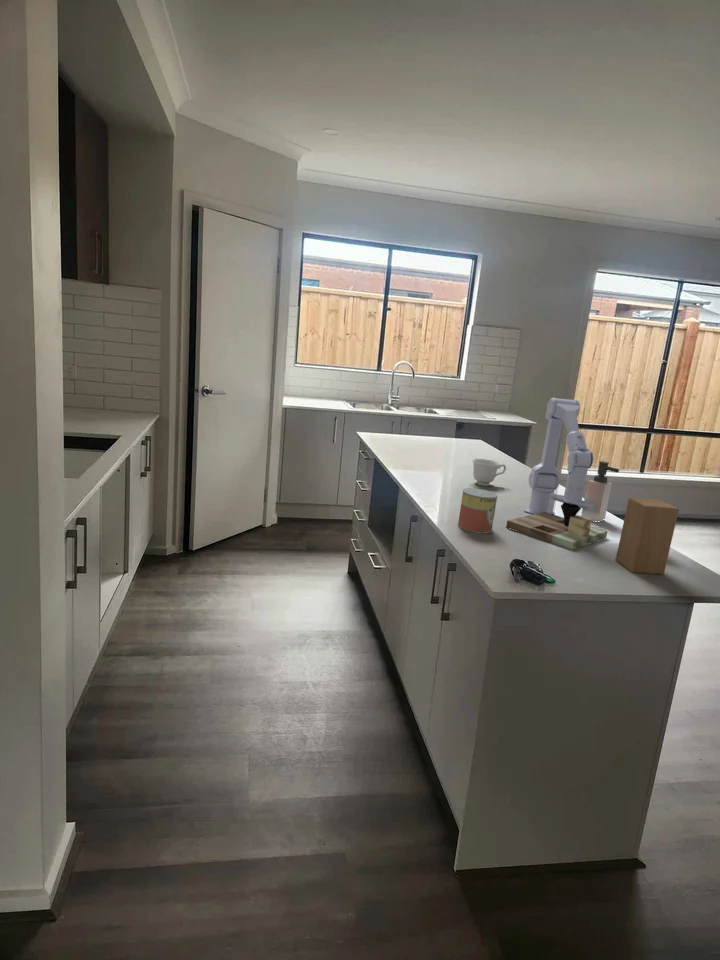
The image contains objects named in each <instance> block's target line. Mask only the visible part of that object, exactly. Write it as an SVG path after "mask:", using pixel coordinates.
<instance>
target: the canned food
mask: <svg viewBox="0 0 720 960" xmlns="http://www.w3.org/2000/svg"><path fill="white" fill-rule="evenodd" d="M497 501H498V494H497V493H496V492H493V491H490V490H487V489H482V488H476V487H475V488H474V487H473V488H472V487H471V488H469V487H468V488H463V489H462V496H461V503H460V509H459V515H458V516H459V517H458V523H457V528H459V527H460V529H461V528H462V529H461V530H463V529H464V531H466V530H468V531H467V532H469V531H472V532H471V533H474V532H479V533H478V534H488V533H487V532H490V533H492V531H493V525H494V518H495V514H496V513H495V512H496V505H497ZM485 532H486V533H485Z"/></svg>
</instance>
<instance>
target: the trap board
mask: <svg viewBox="0 0 720 960" xmlns="http://www.w3.org/2000/svg"><path fill="white" fill-rule="evenodd" d="M505 526H506V527H508V528H507V529H509V528H511V529H510V530H512V529H514V530H513V531H515V530H517V531H516V532H518V531H519V533H521V532H522V534H524V533H525V534H524V535H527V534H528V535H527V536H530V537H532V538H533V537H534V538H535V539H538V540H542V541H544V542H547V543H550V544H554V545H556V546H560V547H562V548H565V549H568V550H571V551H572V550H575V549H578V548H582V547H584V545H585V546H587V544H588V545H590V543H591V544H594V543H596V541H597V542H599V541H598V540H600V541H602V540H601V539H603V540H605V539H604V538H606V539H607V536H608V530H604V529H602V528H598V527H594V526H592V525H591V527H590V532H589V534H587V535H583V536H580V535H577V534H574V533H571V532H568V527H567V526H565V523H564V516H563V517H562V516H559V515H556V514H549V513H546V512H541V513H537V514H529V515H528V514H527V515H525V516H522V517H521V516H520V517H515V518H511V519H507V520H506V525H505ZM506 527H505V528H506ZM593 542H594V543H593Z"/></svg>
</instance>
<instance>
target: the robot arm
mask: <svg viewBox="0 0 720 960" xmlns="http://www.w3.org/2000/svg"><path fill="white" fill-rule="evenodd" d="M546 404H547V406H546V411H545V419H546V420H548V422H547V428H546V432H545V433H546V434H545V438H544V443H543V444H544V445H543V449H542V450H543V451H542V455H541V461H540V462H539V463H538V464H536V465H534V466H533V467H532V468H531V471H530V473H529V477H528V486H529V488H531V495H530V501H529V505H528V508H526V509H523V512H526V513H529V514H531V515H533V514H537V513H541V512H546V513H549V514H553V515H556V513H555V512H553V511H554V507H555V501H556V502H559V503H562V504H561V505H560V508H561V510H562V514H563V518H564V523H565V526H567V527H568V526H569V521H570V517H572V516H576V515H578V513H579V512H580V511H581V510H582V509H587V510H588V511H593V510H594V506H595V505H593V504H590V503H588V502H585V501H584V500H583V496H584V495H583V494H584V490H585V486H586V482H587V475H588V471H589V469H590V468H591V467H592V466H593V463H594V453H593V452H592V450H590V448H588V447H587V442H586V439H585V435H584V434H583V433H582V432H581V431H580V429H579V421H578V417H579V414H580V411H581V404H580V401H579V400H578V399H568V398H567V399H566V398H556V397H551V398H550V399H549V401H548V402H547V403H546ZM563 425H564V427H565V430H566V433H567V435H566V437H565V441H566V446H567V449H568V450H567V451H568V456H567V469H566V470H567V472H568V473H567V478H566V482H565V483H566V484H565V487H564V488H565V489H564V494H563V495H562V494H559V493H558V494H557V493H555V491H556V490H557V489H558V488H559V485H560V473H561V472H560V470H559V468H557V467H556V466H555V464H556V460H557V459H556V458H557V454H558V448H559V444H560V438H561V433H562V429H563V428H562V427H563Z"/></svg>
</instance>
